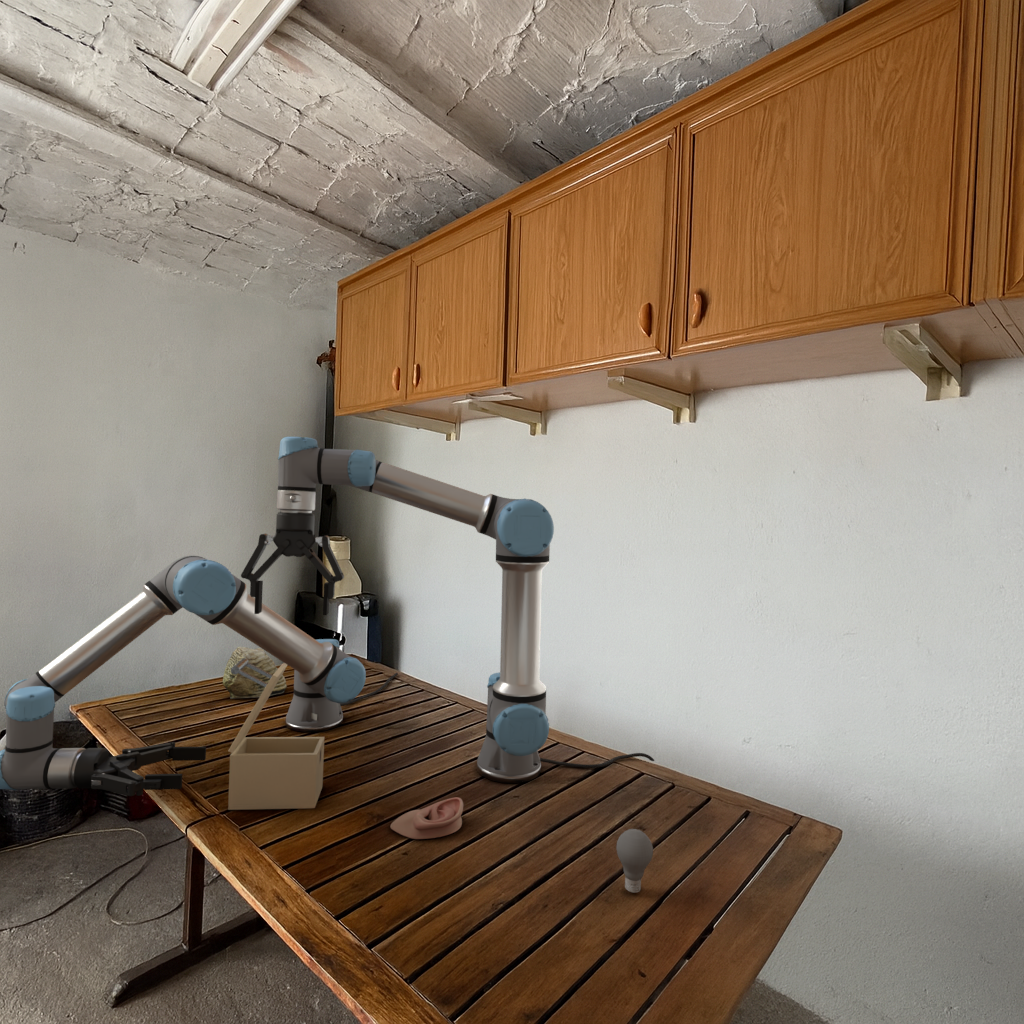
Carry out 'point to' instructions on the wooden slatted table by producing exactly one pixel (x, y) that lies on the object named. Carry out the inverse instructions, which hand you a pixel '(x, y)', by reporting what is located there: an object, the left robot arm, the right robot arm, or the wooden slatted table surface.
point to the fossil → (245, 686)
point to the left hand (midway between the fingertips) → (194, 766)
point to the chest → (276, 773)
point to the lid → (263, 698)
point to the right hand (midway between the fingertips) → (292, 613)
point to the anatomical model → (431, 820)
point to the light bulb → (634, 857)
